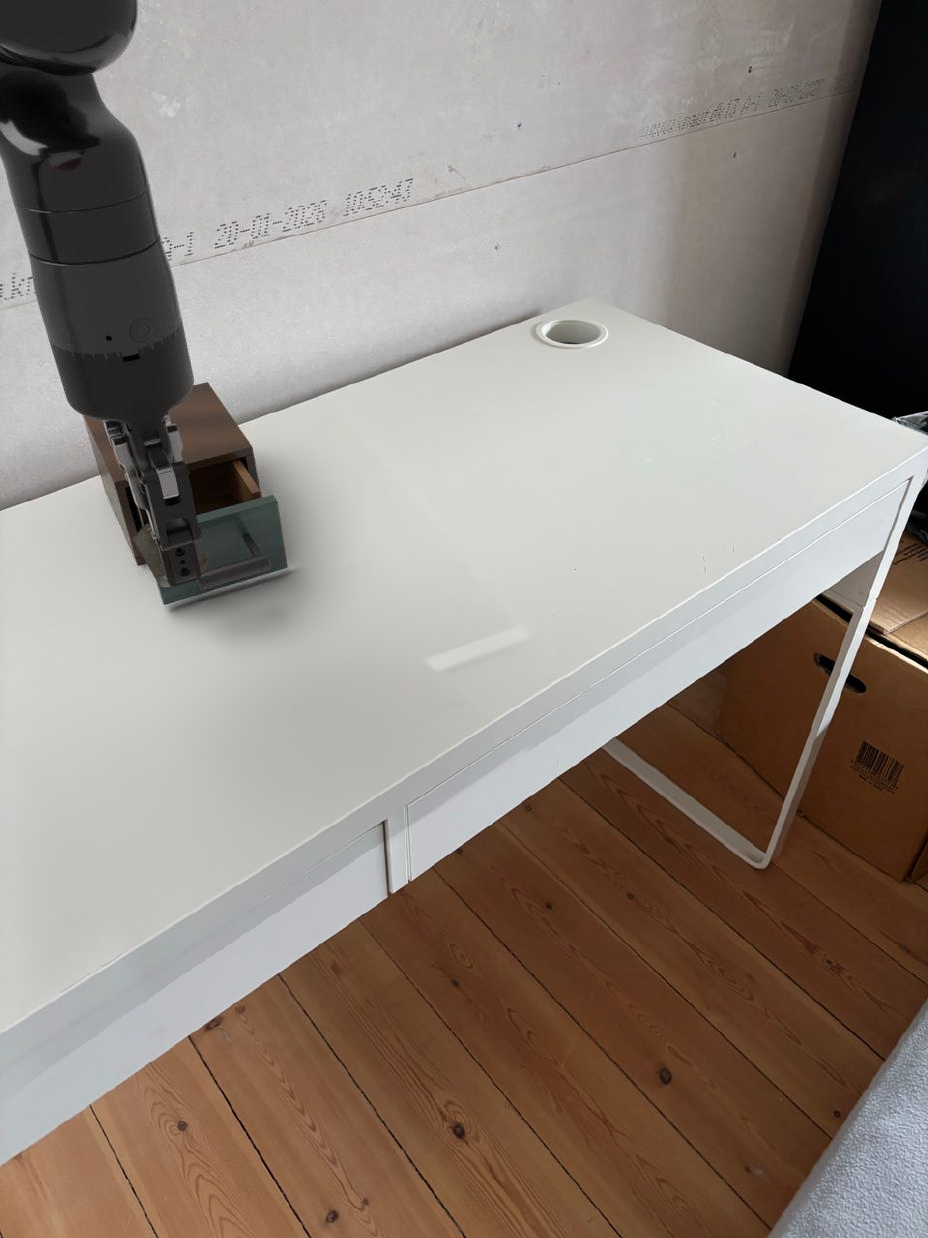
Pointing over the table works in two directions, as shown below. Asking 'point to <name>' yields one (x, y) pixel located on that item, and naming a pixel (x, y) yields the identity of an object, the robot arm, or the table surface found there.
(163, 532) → the robot arm
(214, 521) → the drawer
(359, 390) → the table surface
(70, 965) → the table surface
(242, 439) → the cabinet
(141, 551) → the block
